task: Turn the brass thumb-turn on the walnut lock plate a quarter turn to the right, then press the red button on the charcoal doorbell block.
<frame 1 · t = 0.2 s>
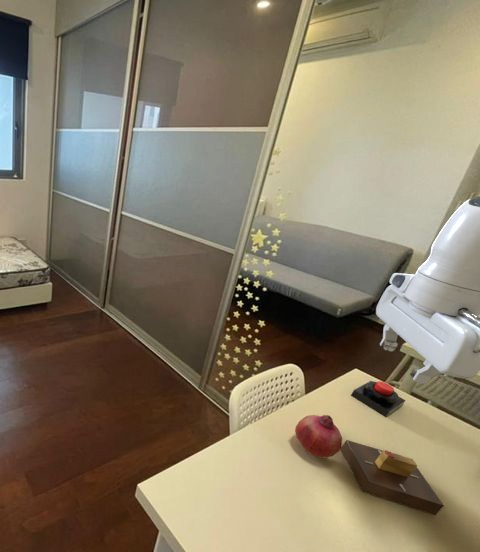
hand: (400, 363, 58), 26 cm above the table, tool pointing down, fingers open, 8 cm apart
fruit: (309, 450, 70), on the table
bell button: (383, 388, 86), point 5 cm above the table, slide at 0.2 cm
lock plate: (383, 479, 66), on the table
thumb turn: (395, 463, 64), point 5 cm above the table, hinge at 0.0°
bell block: (375, 401, 87), on the table
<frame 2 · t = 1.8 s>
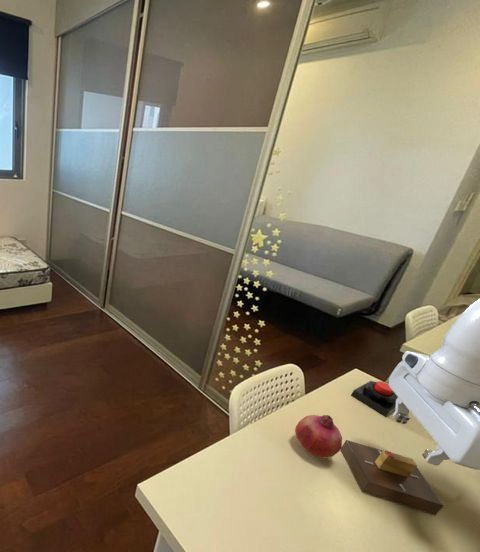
hand: (412, 439, 61), 12 cm above the table, tool pointing down, fingers open, 8 cm apart
nothing on the table moved.
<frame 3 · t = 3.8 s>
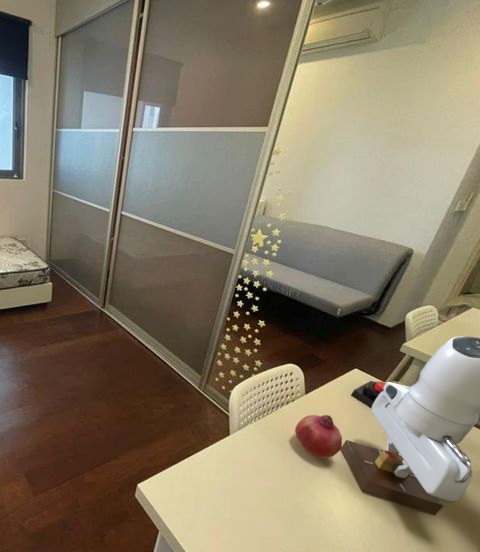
hand: (393, 466, 64), 4 cm above the table, tool pointing down, fingers closed on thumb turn, 2 cm apart
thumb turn: (395, 463, 64), point 5 cm above the table, hinge at -0.1°, touching gripper
everything else where it was.
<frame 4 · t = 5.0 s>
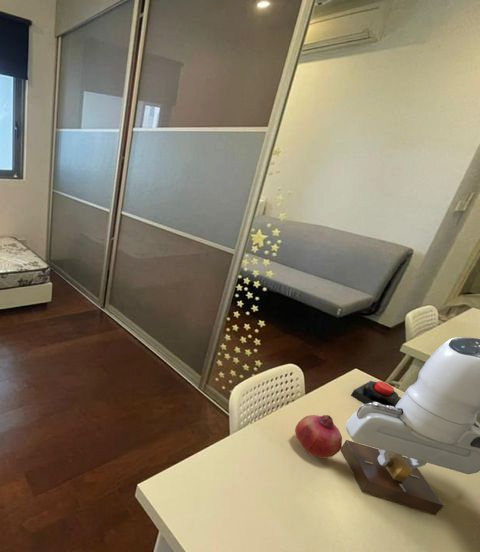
hand: (392, 466, 64), 4 cm above the table, tool pointing down, fingers closed
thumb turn: (395, 463, 64), point 5 cm above the table, hinge at -89.6°
everything else where it was.
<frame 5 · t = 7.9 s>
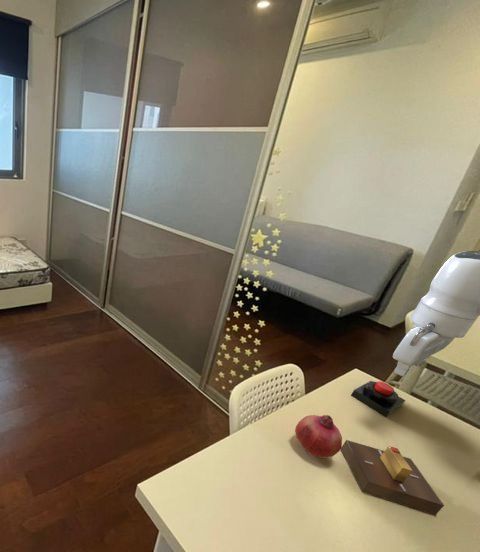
hand: (407, 369, 77), 15 cm above the table, tool pointing down, fingers open, 8 cm apart
nothing on the table moved.
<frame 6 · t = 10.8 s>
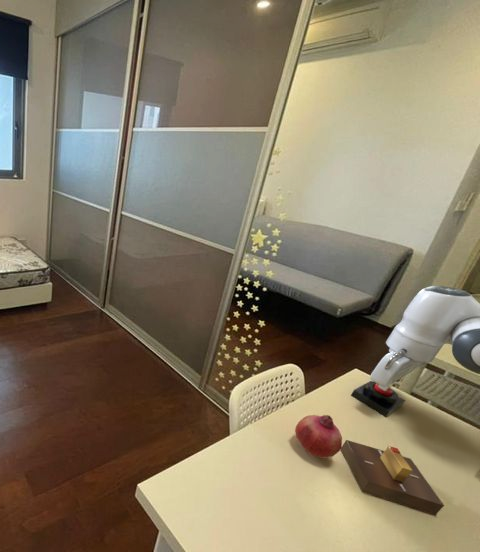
hand: (383, 387, 85), 5 cm above the table, tool pointing down, fingers closed, pressing on bell button
bell button: (382, 390, 86), point 4 cm above the table, slide at -0.5 cm, touching gripper
everything else where it was.
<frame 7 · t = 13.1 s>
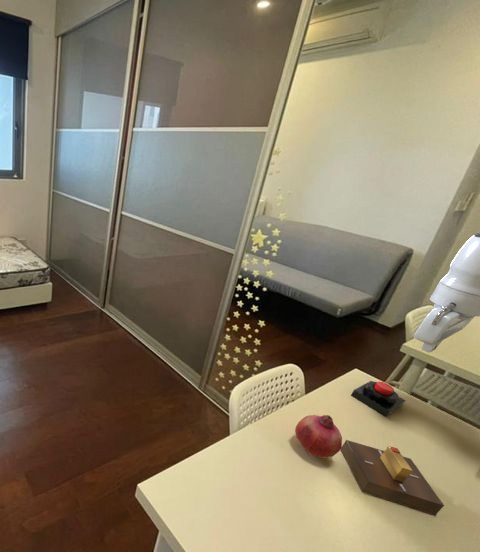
hand: (427, 349, 78), 19 cm above the table, tool pointing down, fingers closed
bell button: (383, 388, 86), point 5 cm above the table, slide at 0.1 cm
everything else where it was.
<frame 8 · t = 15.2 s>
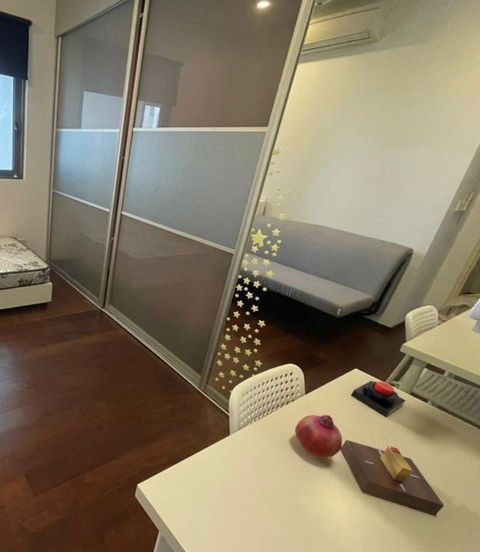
hand: (478, 331, 72), 27 cm above the table, tool pointing down, fingers closed
nothing on the table moved.
at the end: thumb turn at -90° (first picture: +0°); bell button pushed in 1.0 cm at the most during the clip, back to where it started at the end; bell button slide at 0.1 cm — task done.
